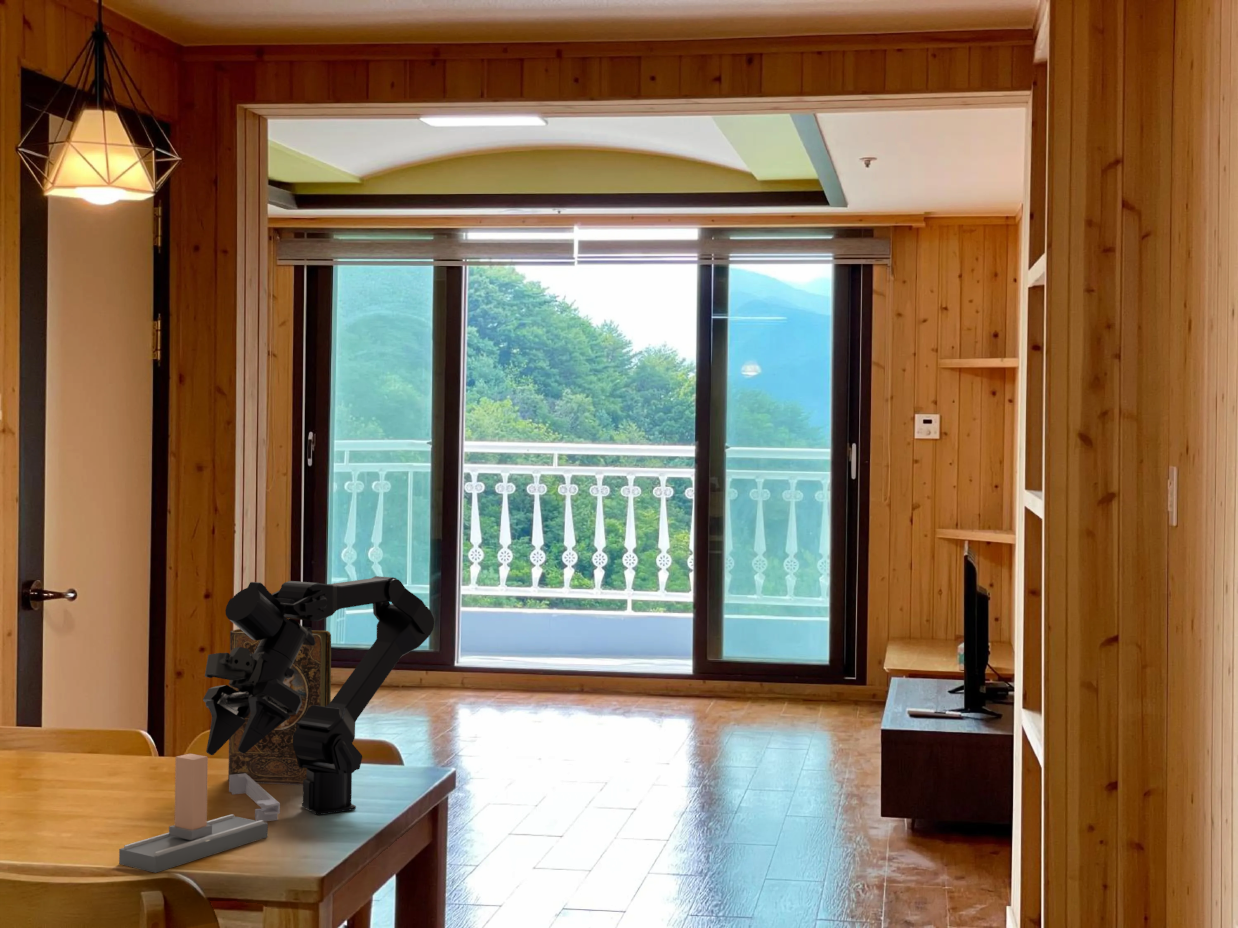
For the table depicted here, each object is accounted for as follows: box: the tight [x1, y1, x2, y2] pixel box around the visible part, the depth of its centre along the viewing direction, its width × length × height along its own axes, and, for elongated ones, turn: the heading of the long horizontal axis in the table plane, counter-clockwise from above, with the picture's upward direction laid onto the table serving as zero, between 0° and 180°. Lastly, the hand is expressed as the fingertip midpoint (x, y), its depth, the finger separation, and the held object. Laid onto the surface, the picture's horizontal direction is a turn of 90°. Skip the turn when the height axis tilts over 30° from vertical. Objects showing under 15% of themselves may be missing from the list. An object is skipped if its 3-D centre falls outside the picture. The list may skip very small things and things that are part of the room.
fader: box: [168, 753, 212, 840], centre depth 185 cm, size 4×4×11 cm
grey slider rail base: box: [118, 813, 269, 874], centre depth 186 cm, size 20×7×2 cm, turn 150°
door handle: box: [228, 773, 281, 822], centre depth 209 cm, size 21×3×3 cm, turn 29°
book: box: [227, 628, 332, 786], centre depth 227 cm, size 16×6×25 cm, turn 84°
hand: (224, 752), depth 190 cm, fingers open, 9 cm apart
